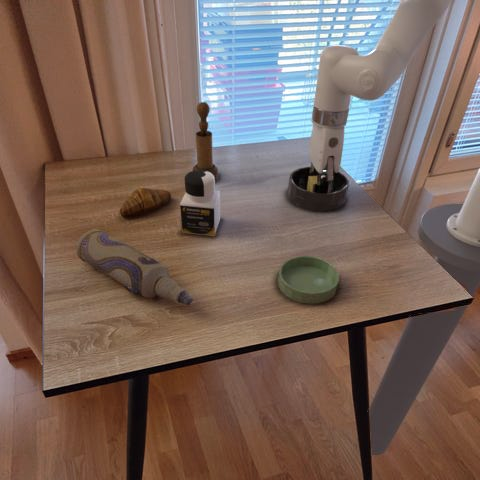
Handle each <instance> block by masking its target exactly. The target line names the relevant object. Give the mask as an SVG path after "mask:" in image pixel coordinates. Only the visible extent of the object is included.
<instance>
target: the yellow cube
mask: <svg viewBox="0 0 480 480" xmlns="http://www.w3.org/2000/svg"><path fill="white" fill-rule="evenodd" d="M322 177H325V175H324V176H321V178H322ZM315 183H317V176H309V178H308V185H307V191H310V192H314V188H315ZM328 189H329V187H328ZM327 193H328V192H327Z"/></svg>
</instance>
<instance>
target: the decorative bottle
mask: <svg viewBox="0 0 480 480" xmlns="http://www.w3.org/2000/svg"><path fill="white" fill-rule="evenodd" d="M75 250H76V255H77V257H78V259H79V260H81V261H82V262H84V263H86V264H88V265H89V266H91V267H93V268H94V269H97V270H98V271H100V272H102V273H103V274H105V275H107V276H108V277H110V278H112V279H113V280H115V281H117V282H118V283H120V284H121V285H123V287H124V288H125V290H127V291H128V292H129V293H132V294H134V295H139V296H141V297H143V298H158V297H159V298H163V299H166V300H170V301H172V302H174V303H176V304H182V305H185V306H190V305H191V304H192V302H193V300H194V299H193V298H192V296H190V294H189V293H188V292H187V290H186V289H185V288H183V287H182V286H180V285H178V283H177V282H176V280H175V281H174V280H173V279H172V278H171V277H169V276H170V273H169V270H168V268H167V267H166V265H165V264H164V263H162V262H159V261H158V260H156V259H154V258H153V257H150V256H149V255H147V254H144V253H143V252H141V251H140V250H137V249H136V248H135V247H132V246H130V245H128V244H126V243H124V241H121V240H119V239H117V238H115V237H114V236H111V235H109V234H108V233H107V232H106V231H105V230H102V229H99V228H93V229H90V230H88V231H87V232H85V233H84V234H82V235H81V236H80V238H79V239H78V240H77V243H76V248H75Z"/></svg>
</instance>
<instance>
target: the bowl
mask: <svg viewBox="0 0 480 480" xmlns="http://www.w3.org/2000/svg"><path fill="white" fill-rule="evenodd" d="M310 167H311V166H304V167H299V168H298V169H294V170H293V171H292V172H291V173H290V174H289V179H288V186H287V187H288V188H287V198H288V200H289V201H290V202H291V203H292V204H293V205H294V206H296V207H298V208H299V209H303V210H306V211H310V212H316V213H317V212H318V213H326V212H331V211H332V212H333V211H335V210H339V209H340V208H341V207H342V206H343V205H344V204H345V202H346V199H347V196H348V195H347V194H348V191H349V187H350V181H349V179H348V177H347V176H346V175H345V174H343V173H342V172H340V171H339V172H338V173H335V172H334V171H333V181H330V184H329V189H328V193H315V192H310V191H307V185H308V178H309V175H310V174H312V173H310ZM323 170H326V169H323ZM324 175H325V176H326V174H323V176H324Z"/></svg>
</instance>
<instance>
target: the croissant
mask: <svg viewBox="0 0 480 480" xmlns="http://www.w3.org/2000/svg"><path fill="white" fill-rule="evenodd" d="M171 198H172V194H171V192H170V191H168V190H165V189H161V188H160V189H159V188H147V187H140V188H136V189H135V190H133V191H132V193H131V194H130V196H129V197H128V198H127V200H125V201H124V202H123V204H122V205H121V207H120V208H119V214H120V216H121V217H122V218H132V217H135V216H139V215H141V214H145V213H149V212H153V211H155V210H156V209H157V208H159V207H161V206H163V205H165V204H166V203H168V202H169V201H170V200H171Z"/></svg>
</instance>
